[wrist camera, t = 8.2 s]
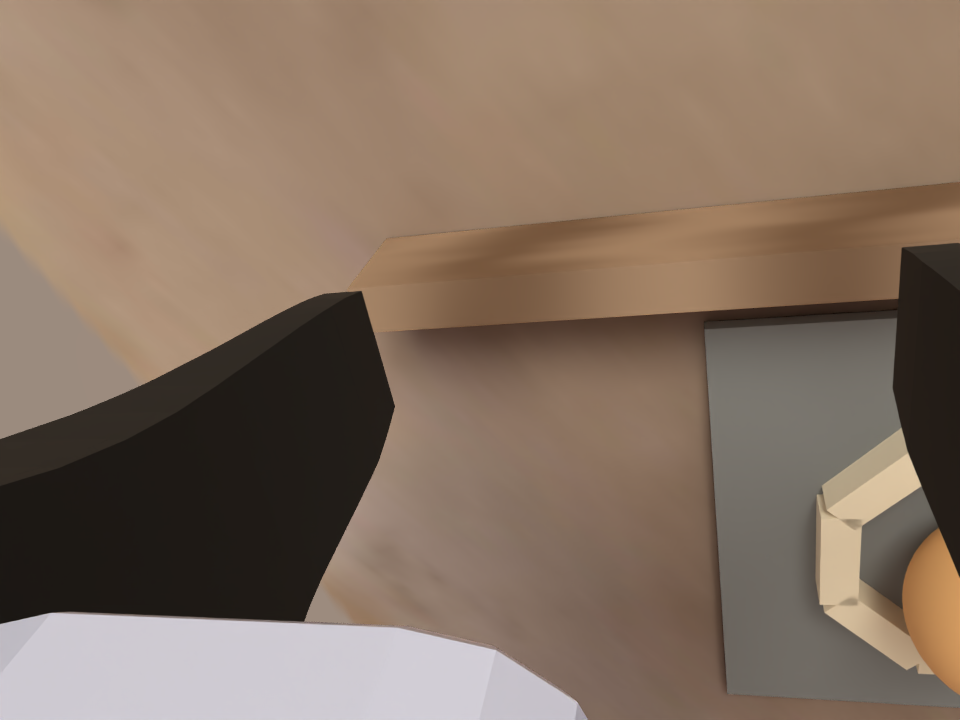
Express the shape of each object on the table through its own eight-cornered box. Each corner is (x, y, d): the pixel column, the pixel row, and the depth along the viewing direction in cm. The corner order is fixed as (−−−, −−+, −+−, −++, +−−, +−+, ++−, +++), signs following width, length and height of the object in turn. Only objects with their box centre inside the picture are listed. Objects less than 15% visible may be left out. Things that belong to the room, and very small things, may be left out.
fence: (1452, 133, 16) (1592, 187, 13) (1428, 193, 16) (1559, 256, 14) (386, 238, 22) (347, 289, 20) (397, 279, 23) (360, 333, 20)
